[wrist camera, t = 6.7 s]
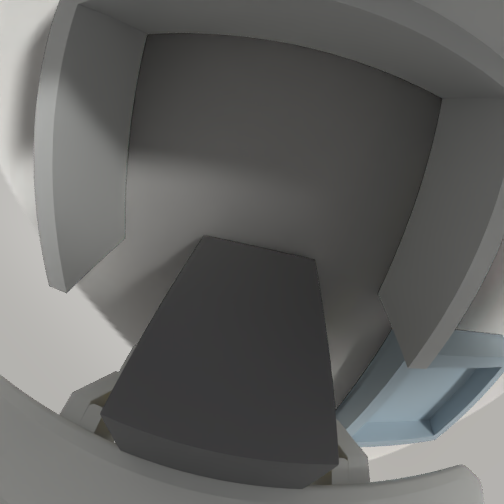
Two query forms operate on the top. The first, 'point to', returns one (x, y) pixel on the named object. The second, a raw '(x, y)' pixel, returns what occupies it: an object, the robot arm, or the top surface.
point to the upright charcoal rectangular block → (233, 373)
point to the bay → (311, 36)
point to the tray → (420, 390)
